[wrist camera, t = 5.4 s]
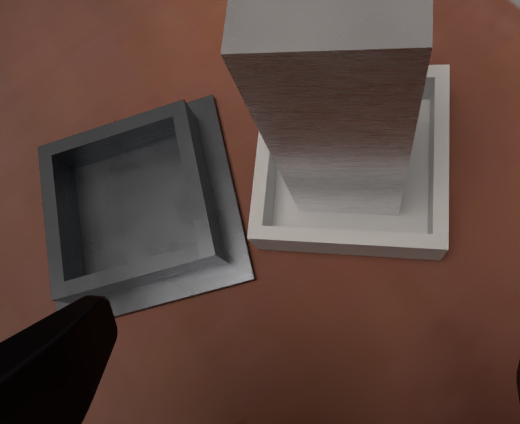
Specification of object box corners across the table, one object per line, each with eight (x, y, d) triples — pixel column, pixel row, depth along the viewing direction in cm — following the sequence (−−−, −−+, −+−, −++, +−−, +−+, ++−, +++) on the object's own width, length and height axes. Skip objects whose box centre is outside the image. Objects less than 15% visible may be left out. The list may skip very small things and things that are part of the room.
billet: (398, 215, 22) (432, 47, 10) (299, 211, 23) (220, 54, 11) (401, 123, 23) (435, -128, 11) (306, 123, 24) (242, -107, 12)
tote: (440, 260, 22) (448, 249, 20) (258, 249, 24) (246, 238, 21) (442, 92, 24) (449, 64, 22) (274, 94, 26) (265, 69, 23)
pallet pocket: (255, 279, 23) (243, 272, 21) (63, 331, 25) (32, 329, 22) (214, 98, 26) (200, 74, 24) (46, 152, 28) (17, 134, 26)
